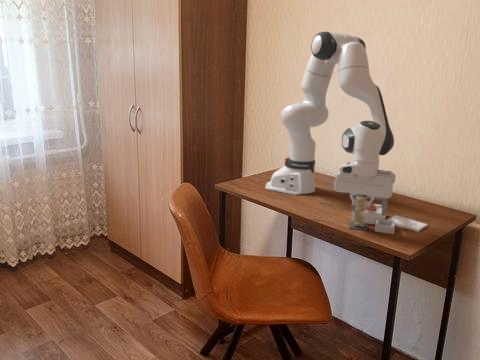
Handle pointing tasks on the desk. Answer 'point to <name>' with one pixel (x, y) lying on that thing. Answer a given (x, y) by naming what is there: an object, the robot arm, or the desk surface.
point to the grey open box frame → (373, 215)
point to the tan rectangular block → (360, 210)
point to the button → (370, 207)
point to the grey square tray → (384, 226)
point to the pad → (358, 227)
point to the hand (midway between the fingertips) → (360, 205)
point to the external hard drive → (408, 223)
